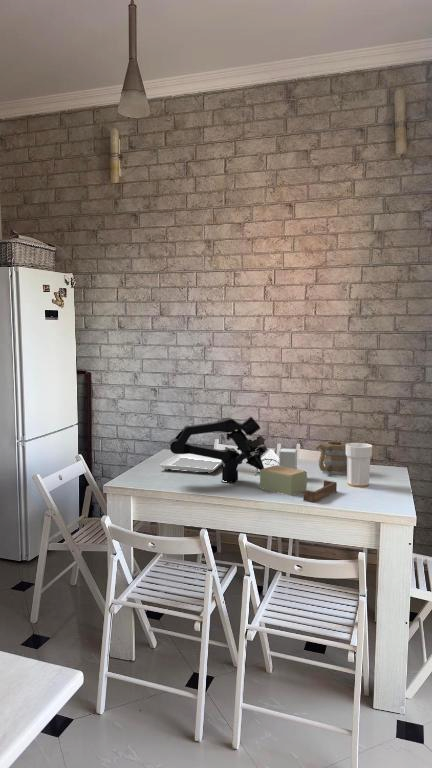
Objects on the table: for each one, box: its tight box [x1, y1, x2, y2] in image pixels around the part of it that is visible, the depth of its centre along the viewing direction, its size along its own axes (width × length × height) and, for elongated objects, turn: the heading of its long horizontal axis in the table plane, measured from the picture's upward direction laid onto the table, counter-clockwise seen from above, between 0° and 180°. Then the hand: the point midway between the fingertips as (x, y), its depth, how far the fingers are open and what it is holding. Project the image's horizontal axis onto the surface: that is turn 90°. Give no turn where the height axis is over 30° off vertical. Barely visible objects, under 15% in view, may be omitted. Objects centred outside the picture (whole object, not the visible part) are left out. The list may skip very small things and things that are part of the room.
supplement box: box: [278, 448, 298, 469], centre depth 255 cm, size 7×7×13 cm
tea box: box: [259, 464, 308, 496], centre depth 235 cm, size 16×11×8 cm
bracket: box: [302, 479, 338, 504], centre depth 225 cm, size 5×19×4 cm, turn 144°
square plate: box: [159, 454, 223, 474], centre depth 275 cm, size 27×27×4 cm
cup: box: [346, 442, 373, 488], centre depth 243 cm, size 11×11×17 cm
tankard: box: [314, 440, 348, 477], centre depth 263 cm, size 20×13×15 cm, turn 122°
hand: (263, 470), depth 241 cm, fingers closed
